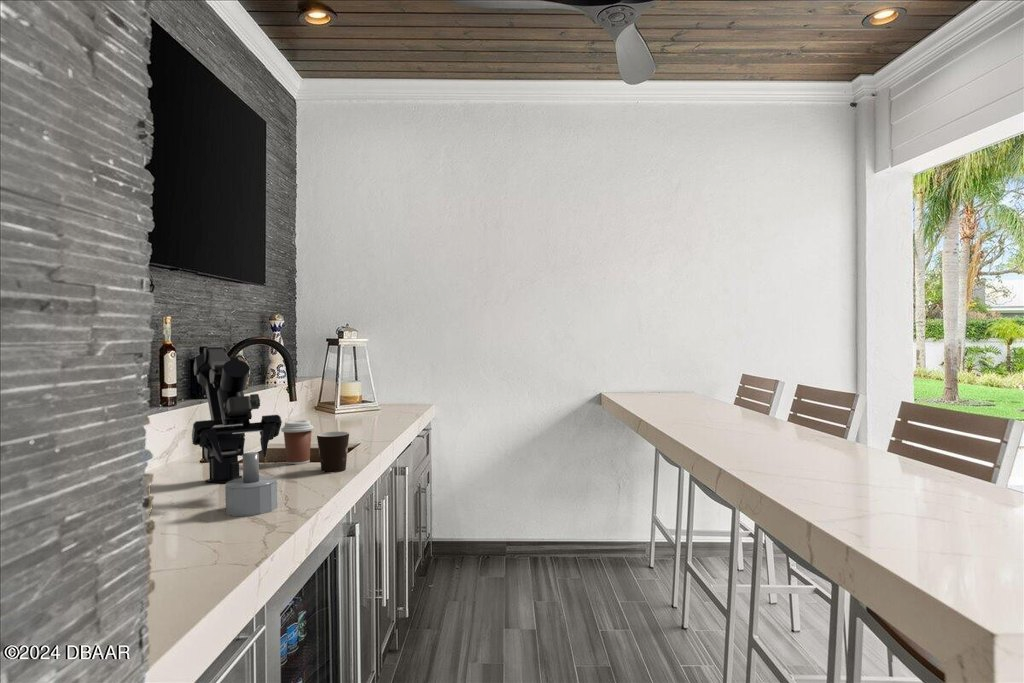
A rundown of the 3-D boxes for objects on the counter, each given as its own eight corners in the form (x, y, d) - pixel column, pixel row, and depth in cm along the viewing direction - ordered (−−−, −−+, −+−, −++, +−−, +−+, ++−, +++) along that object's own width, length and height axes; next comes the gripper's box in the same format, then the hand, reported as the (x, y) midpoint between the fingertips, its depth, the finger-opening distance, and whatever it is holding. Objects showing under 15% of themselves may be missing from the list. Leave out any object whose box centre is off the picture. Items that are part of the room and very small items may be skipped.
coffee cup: (315, 458, 189) (315, 419, 188) (312, 464, 180) (312, 423, 180) (284, 460, 187) (283, 420, 186) (279, 466, 178) (278, 424, 178)
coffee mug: (340, 474, 167) (340, 436, 167) (311, 473, 169) (310, 436, 168) (359, 464, 178) (359, 430, 178) (332, 464, 180) (331, 429, 180)
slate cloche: (216, 511, 133) (215, 455, 132) (258, 500, 141) (257, 447, 141) (244, 518, 127) (242, 460, 127) (286, 506, 135) (285, 451, 135)
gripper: (192, 385, 139) (200, 441, 130) (278, 381, 150) (292, 432, 141) (188, 417, 146) (196, 472, 137) (271, 410, 156) (283, 461, 147)
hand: (243, 458), depth 140 cm, fingers open, 9 cm apart
